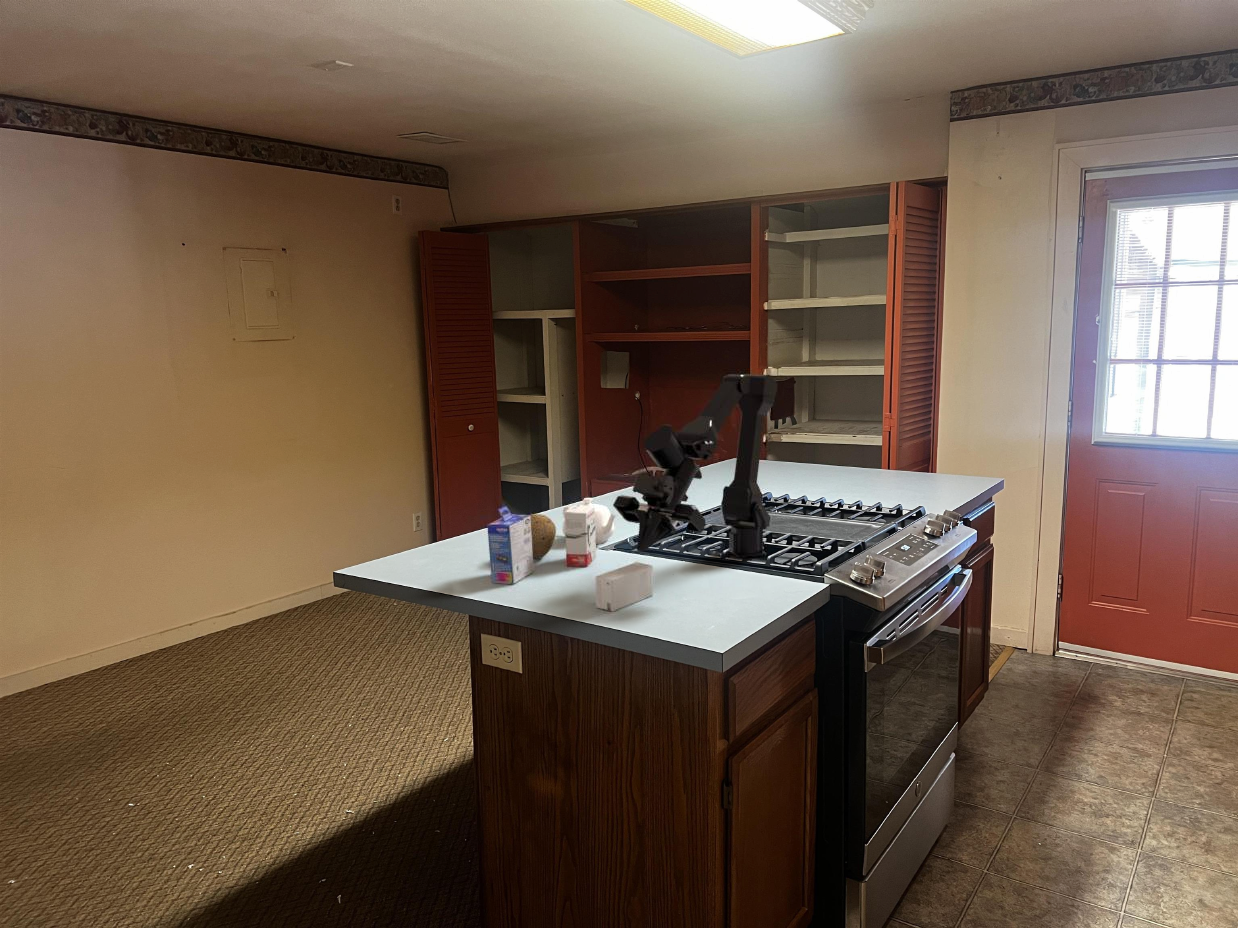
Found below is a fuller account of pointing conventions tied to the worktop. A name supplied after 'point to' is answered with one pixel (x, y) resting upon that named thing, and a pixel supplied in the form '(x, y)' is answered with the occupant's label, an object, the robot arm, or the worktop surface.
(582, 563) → the ink box
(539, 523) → the natural sponge
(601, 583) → the skincare box
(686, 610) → the worktop surface
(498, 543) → the ink cartridge box
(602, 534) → the teapot
